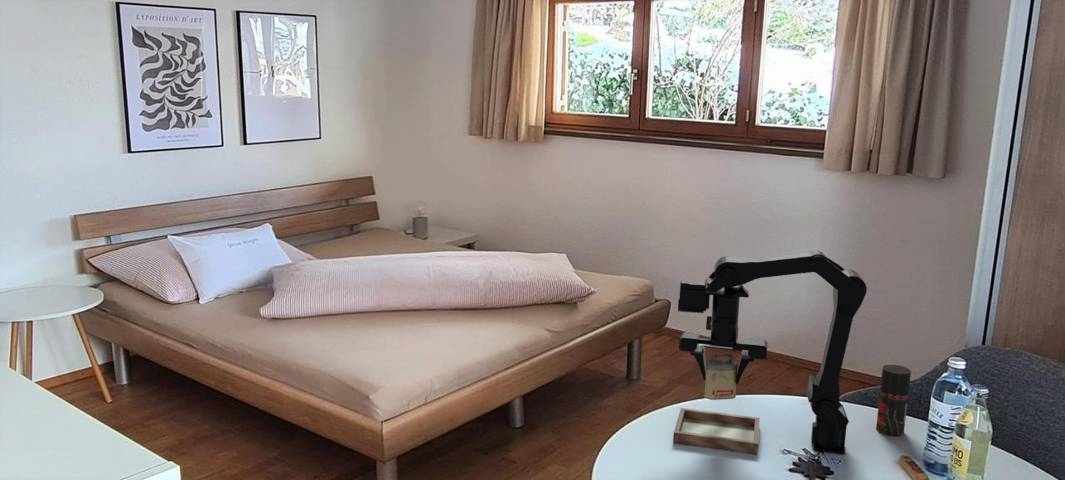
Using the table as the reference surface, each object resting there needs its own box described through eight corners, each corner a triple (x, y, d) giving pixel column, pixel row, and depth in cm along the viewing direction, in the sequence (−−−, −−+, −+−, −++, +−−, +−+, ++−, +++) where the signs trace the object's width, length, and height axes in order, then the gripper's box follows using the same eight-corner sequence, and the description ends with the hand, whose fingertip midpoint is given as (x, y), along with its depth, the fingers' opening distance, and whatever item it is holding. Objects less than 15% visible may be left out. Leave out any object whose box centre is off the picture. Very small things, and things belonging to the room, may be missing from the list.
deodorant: (905, 438, 191) (912, 375, 188) (877, 434, 193) (884, 372, 189) (901, 427, 197) (908, 366, 193) (874, 424, 198) (881, 363, 195)
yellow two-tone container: (707, 401, 187) (710, 358, 184) (701, 394, 190) (703, 352, 188) (738, 399, 188) (741, 356, 186) (731, 392, 191) (734, 350, 189)
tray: (758, 428, 195) (759, 417, 194) (757, 454, 182) (758, 443, 181) (680, 418, 200) (680, 407, 199) (673, 443, 187) (673, 432, 186)
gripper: (769, 308, 190) (765, 374, 193) (686, 300, 195) (682, 365, 198) (769, 322, 179) (763, 391, 183) (680, 314, 184) (677, 381, 188)
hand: (720, 381), depth 188 cm, fingers closed on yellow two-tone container, 7 cm apart
